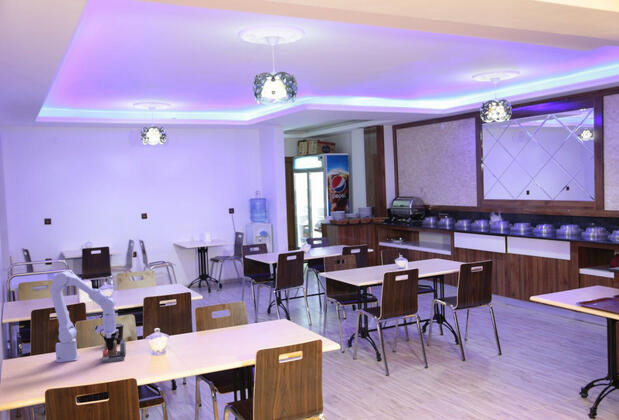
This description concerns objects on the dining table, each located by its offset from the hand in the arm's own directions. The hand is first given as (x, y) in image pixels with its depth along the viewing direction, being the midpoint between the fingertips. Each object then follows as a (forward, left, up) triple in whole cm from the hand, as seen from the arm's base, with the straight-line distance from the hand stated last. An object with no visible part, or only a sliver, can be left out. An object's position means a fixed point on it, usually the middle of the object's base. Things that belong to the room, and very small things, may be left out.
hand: (111, 348), depth 286 cm
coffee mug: (-1, +26, -4) cm, 26 cm away
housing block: (0, 0, -3) cm, 3 cm away
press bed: (+2, -3, -4) cm, 5 cm away
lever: (-2, -9, -2) cm, 9 cm away
